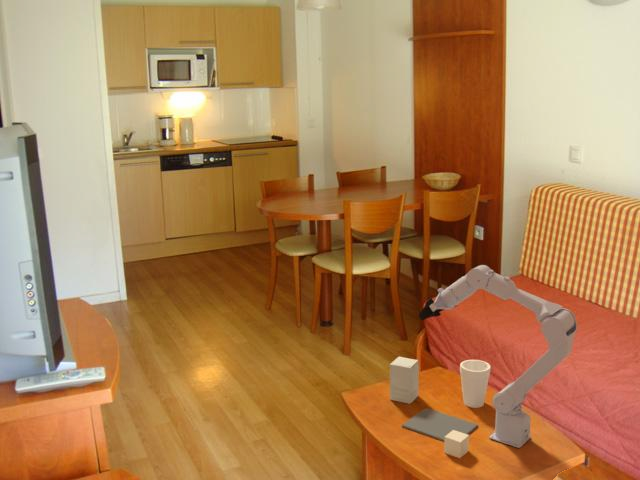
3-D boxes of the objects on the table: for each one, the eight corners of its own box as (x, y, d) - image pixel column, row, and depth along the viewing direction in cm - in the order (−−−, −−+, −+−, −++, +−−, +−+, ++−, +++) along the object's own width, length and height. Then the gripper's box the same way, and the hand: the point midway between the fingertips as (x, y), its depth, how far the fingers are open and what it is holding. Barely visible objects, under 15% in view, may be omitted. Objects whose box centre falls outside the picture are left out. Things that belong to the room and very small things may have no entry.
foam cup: (452, 401, 237) (454, 364, 234) (473, 394, 242) (474, 357, 239) (474, 412, 229) (475, 374, 226) (495, 404, 234) (496, 367, 231)
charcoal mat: (477, 426, 221) (477, 424, 221) (455, 445, 210) (455, 443, 210) (425, 409, 232) (425, 407, 232) (401, 426, 221) (401, 424, 221)
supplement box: (419, 395, 242) (419, 359, 239) (409, 404, 235) (410, 368, 232) (398, 391, 245) (398, 355, 242) (389, 399, 239) (389, 363, 236)
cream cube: (468, 451, 207) (469, 435, 206) (459, 458, 203) (460, 442, 202) (452, 445, 210) (453, 429, 209) (444, 452, 207) (444, 436, 205)
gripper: (462, 274, 221) (431, 296, 230) (437, 286, 210) (406, 309, 219) (475, 294, 220) (444, 315, 228) (451, 307, 209) (420, 329, 217)
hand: (426, 313), depth 223 cm, fingers open, 7 cm apart
